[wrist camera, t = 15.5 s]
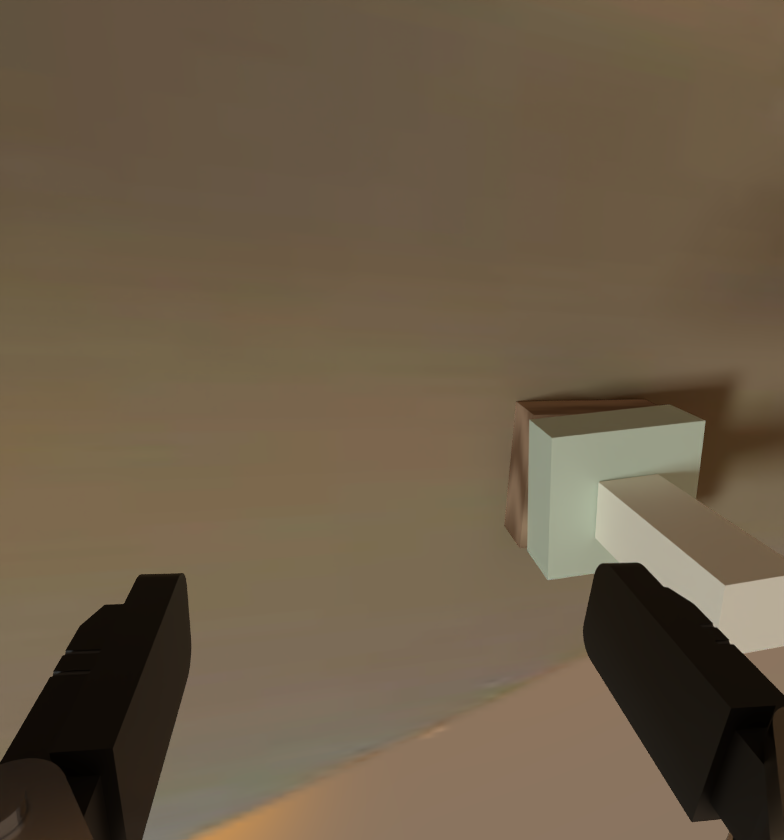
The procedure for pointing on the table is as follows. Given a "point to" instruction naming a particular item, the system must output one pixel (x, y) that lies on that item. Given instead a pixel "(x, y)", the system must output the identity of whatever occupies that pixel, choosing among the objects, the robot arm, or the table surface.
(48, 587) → the table surface
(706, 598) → the cream post
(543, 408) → the walnut block
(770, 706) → the robot arm
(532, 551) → the sage block
